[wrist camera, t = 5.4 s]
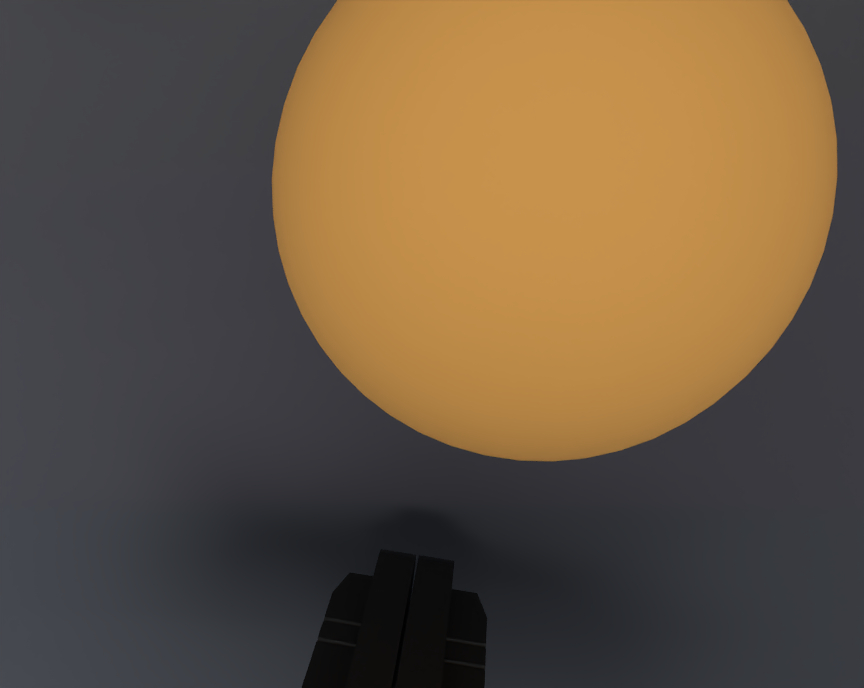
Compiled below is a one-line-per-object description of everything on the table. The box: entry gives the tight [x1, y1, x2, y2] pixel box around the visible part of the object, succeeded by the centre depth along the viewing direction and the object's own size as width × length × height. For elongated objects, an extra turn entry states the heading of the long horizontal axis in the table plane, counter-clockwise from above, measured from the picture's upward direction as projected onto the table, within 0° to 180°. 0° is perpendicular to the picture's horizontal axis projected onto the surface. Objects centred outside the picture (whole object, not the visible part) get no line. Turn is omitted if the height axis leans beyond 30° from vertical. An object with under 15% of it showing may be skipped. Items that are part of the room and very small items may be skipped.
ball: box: [272, 0, 837, 461], centre depth 7 cm, size 6×6×6 cm
